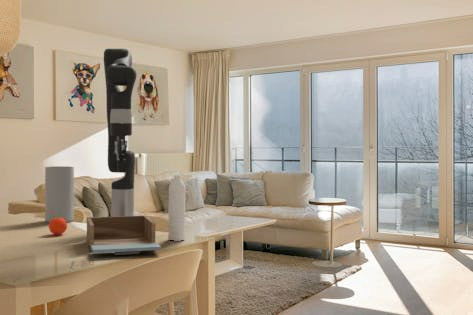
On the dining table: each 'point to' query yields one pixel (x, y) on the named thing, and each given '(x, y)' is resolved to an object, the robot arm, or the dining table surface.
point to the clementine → (57, 226)
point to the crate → (120, 230)
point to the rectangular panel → (125, 248)
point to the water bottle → (177, 209)
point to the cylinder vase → (59, 193)
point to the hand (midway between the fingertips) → (120, 170)
